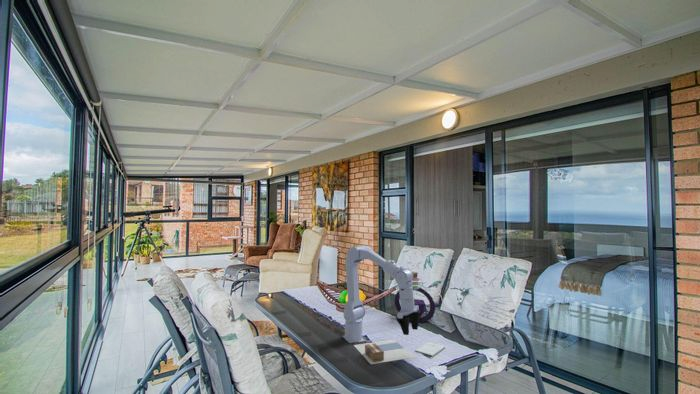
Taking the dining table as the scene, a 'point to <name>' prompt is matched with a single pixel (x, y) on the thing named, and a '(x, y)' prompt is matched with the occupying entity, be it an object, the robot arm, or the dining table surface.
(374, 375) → the dining table surface
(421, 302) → the decorative bottle
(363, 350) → the mat
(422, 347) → the external hard drive
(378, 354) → the cardboard box
